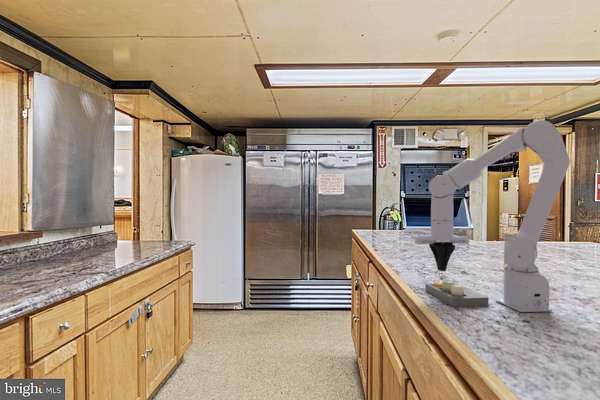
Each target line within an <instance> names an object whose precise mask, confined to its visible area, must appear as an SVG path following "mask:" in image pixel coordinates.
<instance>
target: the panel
mask: <svg viewBox="0 0 600 400" xmlns="http://www.w3.org/2000/svg"><path fill="white" fill-rule="evenodd" d="M454 283H455V285H460V286H462V285H461V284H458V283H457V282H454ZM424 287H425V288H424V289H425V291H424V292H426V293H427V294H430V295H432V296H434V297H435V298H437V299H439V300H440V301H442V302H444V303H446V304H447V305H450V306H451V307H454V308H457V307H461V306H462V307H489V297H488V296H486V295H483V294H481V293H479V292H477V291H475V290H472V289H470V288H467V287H465V286H464V296H453V295H451V292H445V291H443V290H442V287H439V288H437V287H435V286H434V283H425V286H424Z"/></svg>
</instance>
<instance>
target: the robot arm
mask: <svg viewBox="0 0 600 400" xmlns="http://www.w3.org/2000/svg"><path fill="white" fill-rule="evenodd" d="M527 148H529V149H530V150H531V151H532V152H534V153H535V154H537V156H538V157H539V159H540V161H541V162H542V163H543V165H544V166H543V169H542V171H541V174H540V177H539V180H538V182H537V183H536V187H535V189H534V192H533V195H532V197H531V200H530V201H529V204H528V206H527V209H526V212H525V213H524V214H525V215H524V217H523V220H522V222H521V225H520V227H519V230H518V231H517V232H518V233H517V235H516V237H515V240H514V242H513V243H512V244H511V245H510V246H508V247H507V248H506V250H505V253H504V252H503V255H504V256H503V259H504V258H505V261H506V263H507V265H504V264H503V298H496V299H495V302H497V303H499V304H502V305H504V306H505V307H506V306H507V307H509V308H511V309H513V310H515V311H517V312H520V313H531V312H532V313H534V312H535V313H538V312H539V313H540V312H553V308H550V283H549V280H548V278H547V277H546V276H544V275H543V274H541V273H540V272H539V267H538V266H537V265H536V264H535V262H536V259H537V258H538V249H537V246H538V243H539V240H540V237H541V234H542V232H543V230H544V228H545V225H546V224H547V221H548V218H549V215H550V213H551V210H552V208H553V206H554V203H555V201H556V198H557V196H558V193H559V191H560V188H561V186H562V183H563V181H564V178H565V176H566V175H567V171H568V169H569V167H570V163H571V162H570V161H571V160H570V157H569V154H568V152H567V151H568V150H567V148H566V145H565V142H564V139H563V136H562V134H561V132H560V131H559V130H558V128H556V127H555V125H554V124H553V123H552V122H551V121H548V120H545V119H543V120H542V119H540V120H535V121H532V122H530V123H529V124H527V126H526V127H522V128H519V129H518V130H516V131H514V132H513V133H511V134H510V135H509V136H506V137H505V138H504V139H502V140H501V141H499V142H498V143H497V144H495V145H494V146H492V147H491V148H489V149H487V150H486V151H485V152H483V153H482V154H480V155H479V156H478V157H476V158H474V159H473V158H467V157H466V159H460V160H458V161H457V163H458V164H456V165H455V166H453V167H451V168H450V169H448V170H444V171H442V175H441V174H439V175H434V176H433V178H432V179H431V180H430V181H429V183H428V190H429V192H430V194H431V203H430V235H422V236H420V235H417V236H416V235H415V236H414V244H417V245H428V246H429V248H430V250H431V252H432V254H433V257H434V260H435V263H436V268H437V271H440V272H446V271H447V267H448V264H449V260H450V258H451V256H452V255H453V252H454V251H455V249H456V245H457V244H459V245H460V244H461V245H462V244H464V245H469V244H470V237H469V236H467V235H466V236H465V235H464V236H463V235H454V205H455V204H454V195H455V193H456V192H457V190H460V189H462V188H464V187H466V186H467V185H468V184H470V183H472V182H474V181H476V180H477V179H479V178H480V177H481V176H482V171H483V170H484V169H486V168H487V167H488V166H489V167H490V165H492V164H494V163H496V162H498V161H500V160H501V159H503V158H505V157H507V156H509V155H510V154H512V153H522V152H527Z"/></svg>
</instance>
